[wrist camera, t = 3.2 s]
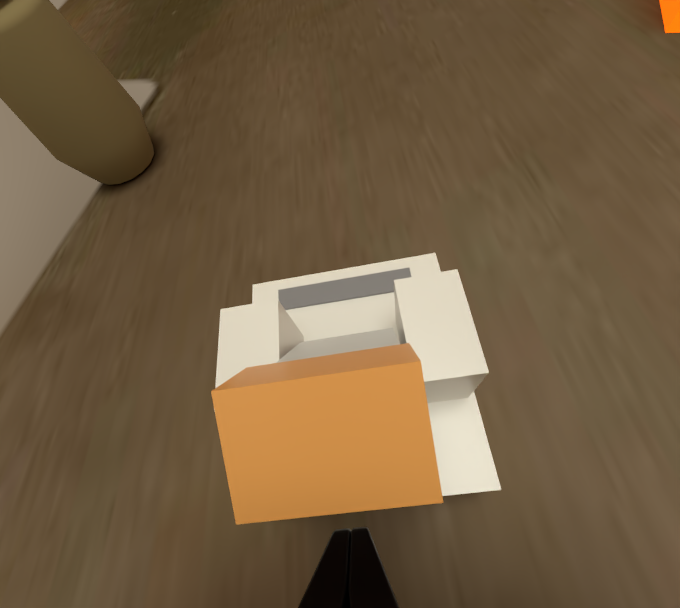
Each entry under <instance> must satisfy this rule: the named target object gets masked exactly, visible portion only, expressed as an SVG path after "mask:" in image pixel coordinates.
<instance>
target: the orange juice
mask: <svg viewBox="0 0 680 608" xmlns="http://www.w3.org/2000/svg"><path fill="white" fill-rule="evenodd" d="M659 1H660V6H661V12H662V17H663V22H664V28H665V33H679V32H680V0H659Z"/></svg>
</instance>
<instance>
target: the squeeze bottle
mask: <svg viewBox="0 0 680 608" xmlns="http://www.w3.org/2000/svg"><path fill="white" fill-rule="evenodd" d="M0 98H1V99H2V100H3V101H4V102H5V103H6V104H7V105H8V106H9V108H10V109H11V110H12V111H13V112H14V113H15V114H16V115H17V116H18V118H19V119H20V120H21V121H22V122H23V123H24V124H25V125H26V126H27V127H28V128H29V130H30V131H31V132H32V133H33V134H34V135H35V136H36V137H37V138H38V139H39V140H40V141H41V143H42V144H43V145H44V146H45V147H46V148H47V149H48V150H49V151H50V152H51V154H52V155H53V156H54V157H55V158H56V159H57V160H59V161H61V162H63V163H65V164H67V165H68V166H70V167H72V168H74V169H76V170H78V171H80V172H82V173H83V174H86V175H87V176H89V177H91V178H93V179H95V180H97V181H99V182H101V183H104V184H107V185H112V184H120V183H123V182H126V181H128V180H131V179H133V178H134V177H136V176H137V175H139V174H140V173H141V172H143V171H144V170H145V168H146V167H147V166H148V165H149V164H150V163H151V160H152V158H153V155H154V150H153V145H152V142H151V139H150V136H149V133H148V130H147V127H146V125H145V122H144V119H143V116H142V113H141V110H140V107H139V106H138V105H137V104H136V102H135V101H134V100H133V99H132V97H131V96H130V95H129V94H128V93H127V92H126V90H125V89H124V88H123V87H122V86H121V84H120V83H119V82H118V81H117V80H116V79H115V77H114V76H113V75H112V74H111V73H110V71H109V70H108V69H107V68H106V67H105V66H104V64H103V63H102V62H101V61H100V60H99V58H98V57H97V56H96V55H95V54H94V53H93V51H92V50H91V49H90V48H89V47H88V45H87V44H86V43H85V42H84V41H83V40H82V38H81V37H80V36H79V35H78V34H77V32H76V31H75V30H74V29H73V28H72V27H71V25H70V24H69V23H68V22H67V21H66V19H65V18H64V17H63V16H62V15H61V14H60V12H59V11H58V10H57V9H56V8H55V7H54V5H53V4H52V3H51V2H50V1H49V0H0Z"/></svg>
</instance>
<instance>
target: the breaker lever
mask: <svg viewBox="0 0 680 608" xmlns="http://www.w3.org/2000/svg"><path fill="white" fill-rule="evenodd" d="M211 393H212V399H213V404H214V409H215V415H216V420H217V425H218V431H219V436H220V441H221V447H222V452H223V457H224V463H225V468H226V473H227V478H228V484H229V489H230V494H231V500H232V505H233V510H234V516H235V521H236V524H246V523H255V522H265V521H274V520H284V519H293V518H303V517H312V516H322V515H331V514H341V513H350V512H360V511H369V510H379V509H388V508H398V507H407V506H417V505H426V504H436V503H443V497H442V491H441V485H440V478H439V472H438V466H437V460H436V453H435V447H434V441H433V435H432V428H431V422H430V416H429V410H428V403H427V397H426V391H425V385H424V378H423V372H422V366H421V361H420V359H419V358H418V356H417V354H416V353H415V351H414V350H413V348H412V347H411V345H410V344H409V343H405V344H400V343H399V341H398V339H397V337H396V335H395V332H394V330H393V328H389V329H382V330H376V331H369V332H363V333H356V334H350V335H344V336H337V337H331V338H324V339H318V340H311V341H305V342H300V343H299V344H298V345H296V346H295V347H294V348H293V349H292V350H290V351H289V352H288V353H287V354H286V355H284V356H283V357H282V358H281V359H280V360H279V361H277V362H276V363H272V364H266V365H259V366H253V367H246V368H245V369H243V370H242V371H241V372H239V373H238V374H236V375H235V376H233V377H232V378H230V379H229V380H227V381H226V382H224V383H223V384H221V385H220V386H218V387H217V388H215V389H214V390H213V391H211Z"/></svg>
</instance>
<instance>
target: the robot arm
mask: <svg viewBox="0 0 680 608" xmlns="http://www.w3.org/2000/svg"><path fill="white" fill-rule="evenodd" d="M298 608H399V605H398V603H397V600H396V598H395V595H394V593H393V590H392V588H391V585H390V582H389V580H388V577H387V575H386V572H385V570H384V567H383V565H382V562H381V560H380V557H379V554H378V552H377V549H376V547H375V544H374V542H373V539H372V537H371V534H370V531H369V529H368V528H367V527H358V528H353V529H352V530H350V529H338V530H335V531H334V532H333V533H332V535H331V538H330V540H329V542H328V544H327V546H326V548H325V551H324V553H323V555H322V557H321V559H320V561H319V563H318V566H317V568H316V570H315V572H314V574H313V576H312V579H311V581H310V583H309V585H308V587H307V589H306V592H305V594H304V596H303V598H302V600H301V602H300V605H299V607H298Z"/></svg>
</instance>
